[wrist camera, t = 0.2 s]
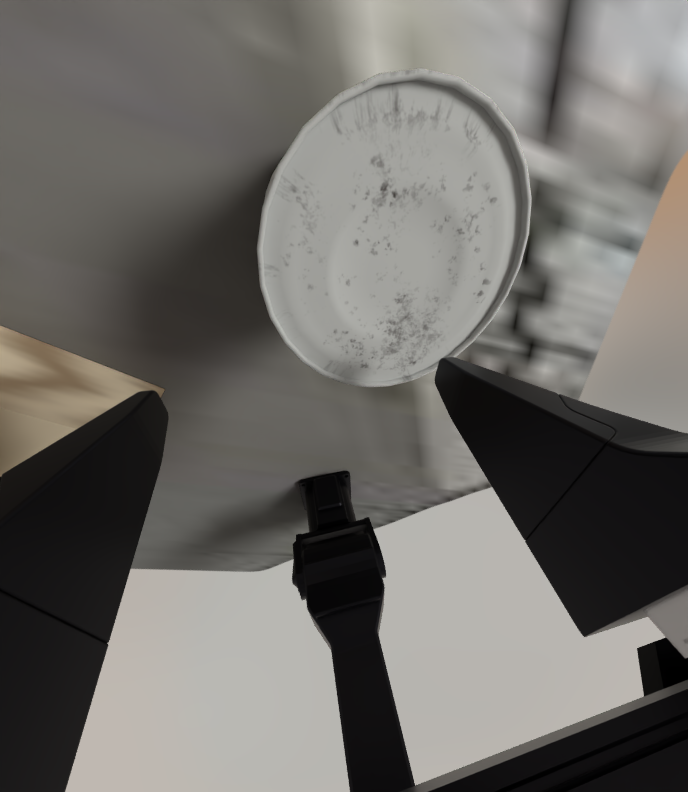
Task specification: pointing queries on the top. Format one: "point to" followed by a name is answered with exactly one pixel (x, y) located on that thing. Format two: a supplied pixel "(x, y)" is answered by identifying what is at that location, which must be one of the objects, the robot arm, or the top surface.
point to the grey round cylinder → (393, 227)
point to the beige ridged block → (51, 394)
